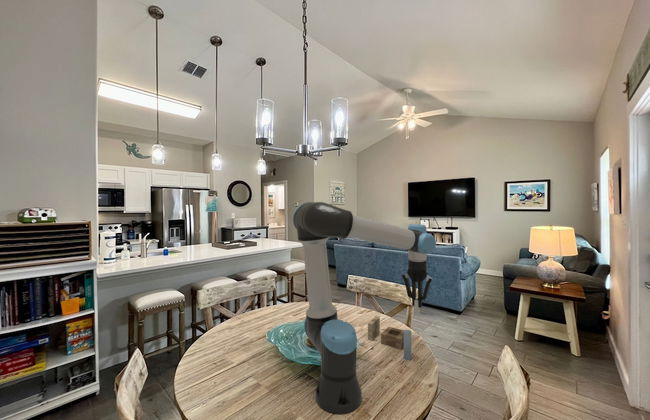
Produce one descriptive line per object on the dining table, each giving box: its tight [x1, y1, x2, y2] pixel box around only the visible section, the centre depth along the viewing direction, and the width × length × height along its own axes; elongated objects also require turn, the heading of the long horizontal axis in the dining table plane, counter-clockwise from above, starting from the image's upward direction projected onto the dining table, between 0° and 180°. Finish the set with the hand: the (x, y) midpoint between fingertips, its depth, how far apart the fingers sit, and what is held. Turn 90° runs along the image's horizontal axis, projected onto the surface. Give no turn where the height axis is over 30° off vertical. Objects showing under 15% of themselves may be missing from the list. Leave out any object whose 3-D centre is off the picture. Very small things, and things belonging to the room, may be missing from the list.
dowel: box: [403, 329, 412, 361], centre depth 112 cm, size 3×3×12 cm
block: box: [380, 326, 405, 350], centre depth 125 cm, size 9×9×4 cm
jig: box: [367, 316, 381, 342], centre depth 127 cm, size 9×16×9 cm, turn 56°
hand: (417, 314), depth 120 cm, fingers closed
